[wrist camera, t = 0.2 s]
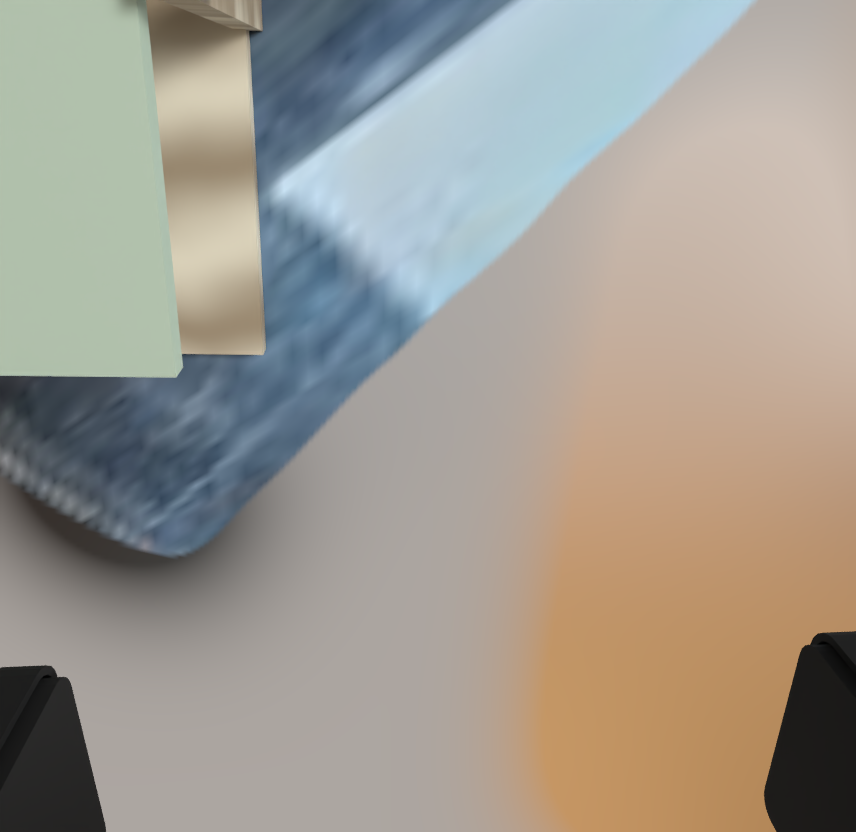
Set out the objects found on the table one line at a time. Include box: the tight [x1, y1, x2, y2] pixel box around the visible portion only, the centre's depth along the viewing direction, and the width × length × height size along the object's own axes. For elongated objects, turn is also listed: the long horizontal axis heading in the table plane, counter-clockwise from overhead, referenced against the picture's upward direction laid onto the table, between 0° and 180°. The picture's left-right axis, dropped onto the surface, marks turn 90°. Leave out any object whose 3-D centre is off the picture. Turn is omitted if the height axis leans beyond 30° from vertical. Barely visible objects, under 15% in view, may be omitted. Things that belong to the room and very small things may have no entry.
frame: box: [146, 0, 266, 355], centre depth 28 cm, size 20×17×15 cm
